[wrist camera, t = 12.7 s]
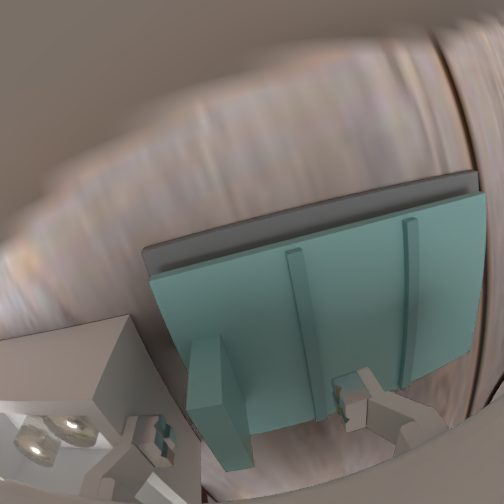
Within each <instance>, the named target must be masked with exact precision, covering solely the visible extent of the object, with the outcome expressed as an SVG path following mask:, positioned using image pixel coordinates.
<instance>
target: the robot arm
mask: <svg viewBox="0 0 504 504" xmlns="http://www.w3.org/2000/svg"><path fill="white" fill-rule="evenodd" d="M331 385H332V388H333V390H334V391H333V392H332V396H333V402H334V406H335V409H336V411H337V413H338V414H340V415H341V423H342V425H343V427H344V430H345V432H346V433H348V432H352V431H355V430H358V429H361V428H364V427H366V428H368V429H370V430H371V431H373V432H375V433H376V434H378V435H380V436H381V437H383V438H385V439H386V440H388V441H390V442H391V443H393V444H395V445H396V448H395V452H394V455H393V458H392V459H390V460H387V461H385V462H383V463H380V464H378V465H375V466H373V467H370V468H367V469H365V470H362V471H359V472H356V473H353V474H351V475H348V476H345V477H341V478H338V479H335V480H332V481H328V482H325V483H322V484H318V485H314V486H310V487H307V488H302V489H298V490H294V491H290V492H285V493H280V494H275V495H270V496H264V497H258V498H251V499H244V500H237V501H228V502H217V503H204V504H504V381H503V382H502V384H501V385H500V387H499V389H498V390H497V392H496V393H495V395H494V397H493V399H492V400H491V402H490V404H489V405H487V406H486V407H484V408H483V409H482V410H480V411H479V412H477V413H476V414H474V415H472V416H471V417H469V418H468V419H466V420H465V421H463V422H461V423H460V424H458V425H456V426H455V427H453V428H451V429H449V427H448V426H447V425H446V423H445V422H444V420H443V419H442V418H441V416H440V415H439V413H438V412H437V411H436V409H434V408H431V407H428V406H426V405H423V404H420V403H418V402H415V401H412V400H410V399H407V398H405V397H402V396H400V395H397V394H395V393H392V392H390V391H386V392H384V390H383V389H382V387H381V386H380V384H379V382H378V381H377V379H376V378H375V376H374V375H373V373H372V372H371V370H370V369H369V367H364V368H361V369H358V370H356V371H353V372H350V373H347V374H344V375H341V376H338V377H335V378H332V379H331ZM175 446H176V438H175V433H174V430H173V428H172V427H171V426H170V425H168V424H166V418H165V416H164V415H163V414H154V415H139V416H129V417H128V418H127V421H126V424H125V428H124V431H123V435H122V439H121V443H120V444H117V445H116V446H115V447H114V448H113V449H112V450H111V451H110V452H109V453H108V454H107V455H105V456H104V457H103V458H102V459H101V460H100V461H99V462H98V463H97V464H96V465H95V466H94V467H93V468H92V469H90V470H89V471H88V472H87V473H86V474H85V475H84V479H83V482H82V486H81V489H80V493H79V496H75V495H70V494H65V493H60V492H56V491H52V490H48V489H44V488H40V487H37V486H33V485H30V484H26V483H23V482H20V481H17V480H14V479H6V480H4V481H2V482H1V483H0V504H143V503H142V502H140V501H139V500H138V499H137V498H135V496H136V494H137V493H138V492H139V490H140V489H141V488H142V486H143V485H144V483H145V482H146V481H147V479H148V478H149V477H150V475H151V474H152V472H153V471H154V470H155V468H156V467H172V466H174V456H175V454H174V453H173V451H172V449H173V448H174V447H175Z"/></svg>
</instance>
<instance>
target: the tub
mask: <svg viewBox="0 0 504 504" xmlns="http://www.w3.org/2000/svg"><path fill="white" fill-rule="evenodd" d="M154 414H163V415H164V416H165V418H166V424H168V425H170V426H171V427H172V428H173V430H174V433H175V438H176V446H175V447H174V448H173V449H172V451H173V453H174V454H175V456H174V466H172V467H156V468H155V470H154V471H153V472H152V474H151V475H150V477H149V478H148V479H147V481H146V482H145V483H144V485H143V486H142V488H141V489H140V490H139V492H138V493H137V494H136V496H135V498H137V499H138V500H139V501H140V502H142V503H143V504H201V442H200V441H199V439H198V438H197V436H196V435H195V433H194V431H193V430H192V428H191V427H190V425H189V424H188V422H187V421H186V419H185V417H184V416H183V414H182V412H181V411H180V409H179V408H178V406H177V404H176V403H175V401H174V399H173V397H172V396H171V394H170V392H169V391H168V389H167V387H166V385H165V384H164V382H163V380H162V378H161V376H160V375H159V373H158V371H157V369H156V367H155V365H154V363H153V361H152V360H151V358H150V356H149V354H148V352H147V350H146V348H145V346H144V344H143V342H142V340H141V338H140V336H139V334H138V332H137V330H136V327H135V325H134V323H133V321H132V319H131V317H130V315H124V316H120V317H115V318H111V319H106V320H102V321H97V322H93V323H88V324H83V325H78V326H74V327H69V328H64V329H59V330H54V331H49V332H44V333H39V334H34V335H28V336H23V337H18V338H12V339H7V340H1V341H0V479H1V480H2V481H4V480H6V479H14V480H17V481H20V482H23V483H26V484H30V485H33V486H37V487H40V488H44V489H48V490H52V491H56V492H60V493H65V494H70V495H75V496H79V493H80V489H81V486H82V482H83V479H84V475H85V474H86V473H87V472H88V471H89V470H90V469H92V468H93V467H94V466H95V465H96V464H97V463H98V462H99V461H100V460H101V459H102V458H103V457H104V456H105V455H107V454H108V453H109V452H110V451H111V450H112V449H113V448H114V447H115V446H116V445H117V444H120V443H121V439H122V435H123V431H124V428H125V424H126V421H127V418H128V417H129V416H139V415H154ZM27 415H47V416H84V415H86V416H87V417H88V418H89V420H90V421H91V422H92V423H93V424H94V426H95V427H96V428H97V429H98V430H99V434H98V437H97V441H96V444H95V445H94V446H92V447H89V448H82V447H77V446H74V445H71V444H69V443H66V442H65V441H63V440H62V443H61V446H60V448H59V451H58V454H57V456H56V459H55V462H54V465H53V467H50V468H48V467H43V466H41V465H38V464H36V463H34V462H32V461H31V460H29V459H28V458H26V457H25V456H24V455H23V454H21V453H20V452H19V451H18V449H17V448H16V447H15V445H14V439H15V437H16V435H17V433H18V431H19V429H20V427H21V425H22V423H23V421H24V419H25V418H26V416H27Z"/></svg>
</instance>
